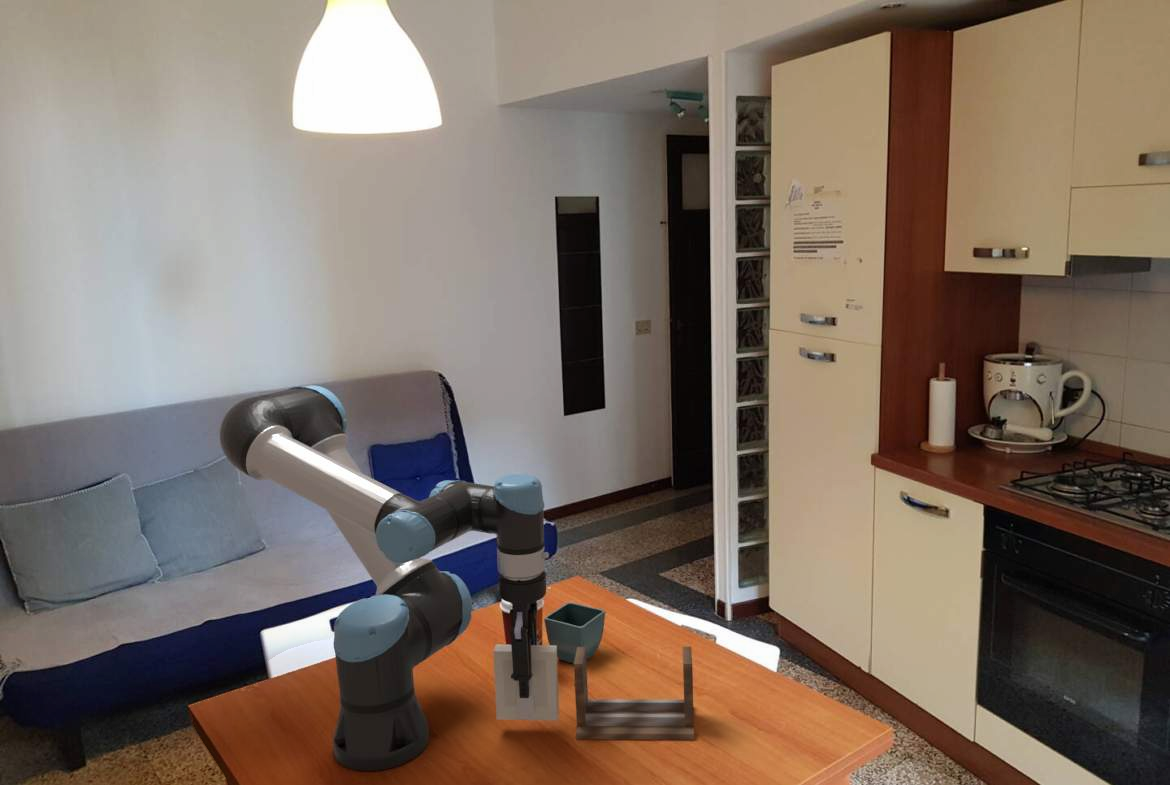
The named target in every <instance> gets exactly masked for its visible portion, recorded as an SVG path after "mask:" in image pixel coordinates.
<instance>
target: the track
mask: <svg viewBox="0 0 1170 785" xmlns="http://www.w3.org/2000/svg"><path fill="white" fill-rule="evenodd" d="M587 667H588V666H587V660H586V647H577V651H576V656H575V661H574V663H573V675H574V694H575V696H574V697H575V710H576V711H575V712H576V713H575V714H576V731H575V739H576V740H646V741H647V740H658V741H659V740H664V741H665V740H667V741H670V740H671V741H674V740H675V741H677V740H680V741H683V740H684V741H695V719H694V713H695V712H694V682H693V681H694V678H693V654H692V646H682V670H683V672H682V673H683V699H652V698H650V699H649V698H648V699H645V698H644V699H639V698H638V699H637V698H636V699H635V698H634V699H625V698H624V699H623V698H621V699H620V698H618V699H617V698H616V699H613V698H612V699H611V698H610V699H605V698H604V699H603V698H601V699H599V698H597V699H596V698H589V692H588V691H589V690H588V689H589V686H588V672H587V670H588V669H587Z"/></svg>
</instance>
